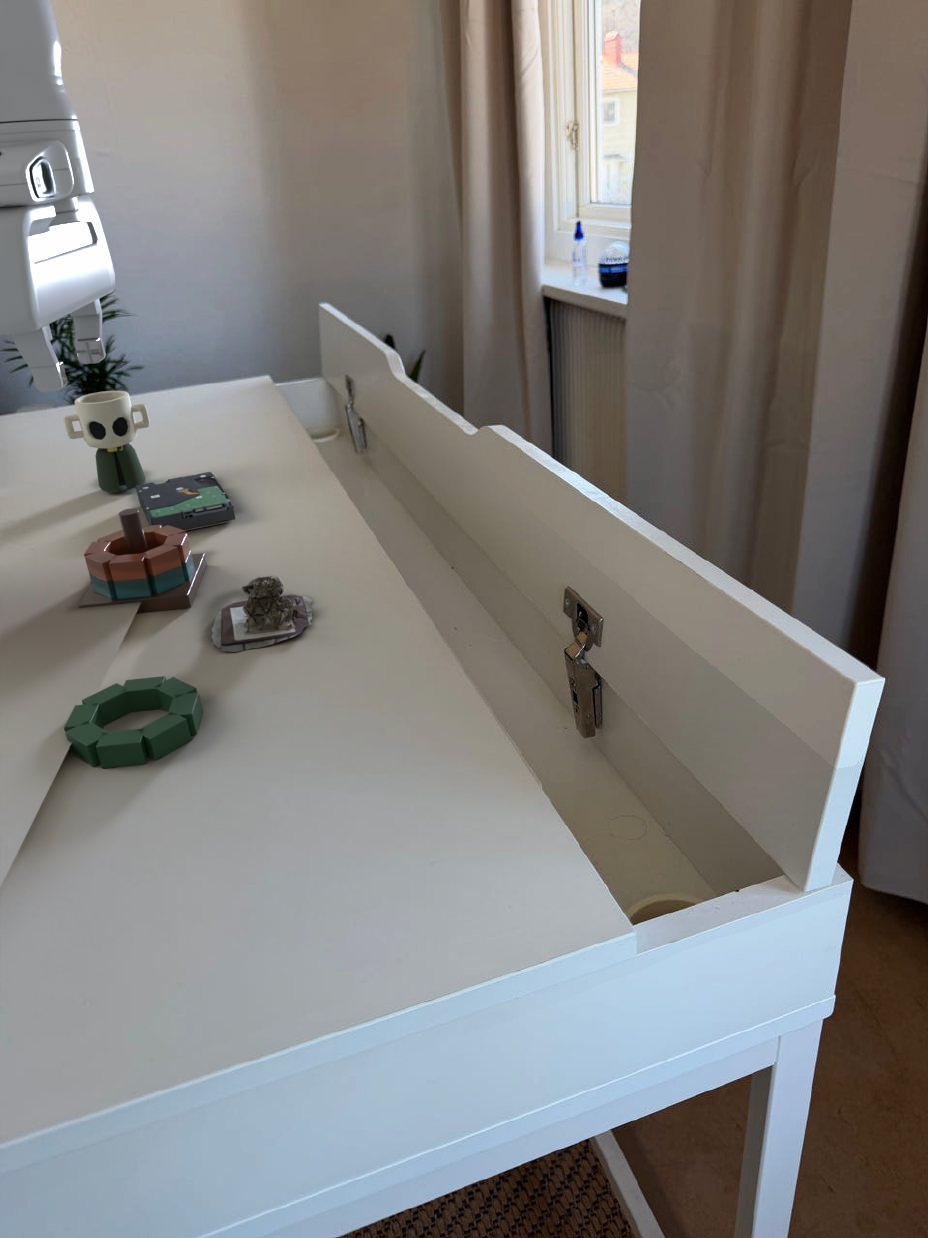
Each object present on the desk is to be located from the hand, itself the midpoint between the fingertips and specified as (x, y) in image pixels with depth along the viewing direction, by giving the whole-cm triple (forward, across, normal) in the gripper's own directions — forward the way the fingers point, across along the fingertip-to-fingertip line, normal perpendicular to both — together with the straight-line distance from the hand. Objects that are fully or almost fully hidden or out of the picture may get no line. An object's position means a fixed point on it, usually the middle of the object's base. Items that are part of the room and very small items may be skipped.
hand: (74, 375), depth 71 cm
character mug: (+27, -56, -18) cm, 65 cm away
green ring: (+27, +8, +1) cm, 28 cm away
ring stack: (+27, -20, -5) cm, 34 cm away
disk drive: (+27, -44, -6) cm, 52 cm away
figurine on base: (+27, -10, +8) cm, 30 cm away
